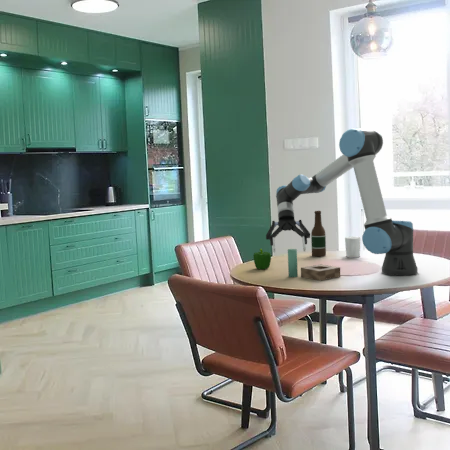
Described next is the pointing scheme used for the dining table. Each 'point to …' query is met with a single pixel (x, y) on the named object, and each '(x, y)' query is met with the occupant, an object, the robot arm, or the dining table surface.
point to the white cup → (352, 246)
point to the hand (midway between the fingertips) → (289, 250)
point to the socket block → (320, 272)
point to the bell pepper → (262, 259)
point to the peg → (292, 263)
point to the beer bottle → (318, 237)
